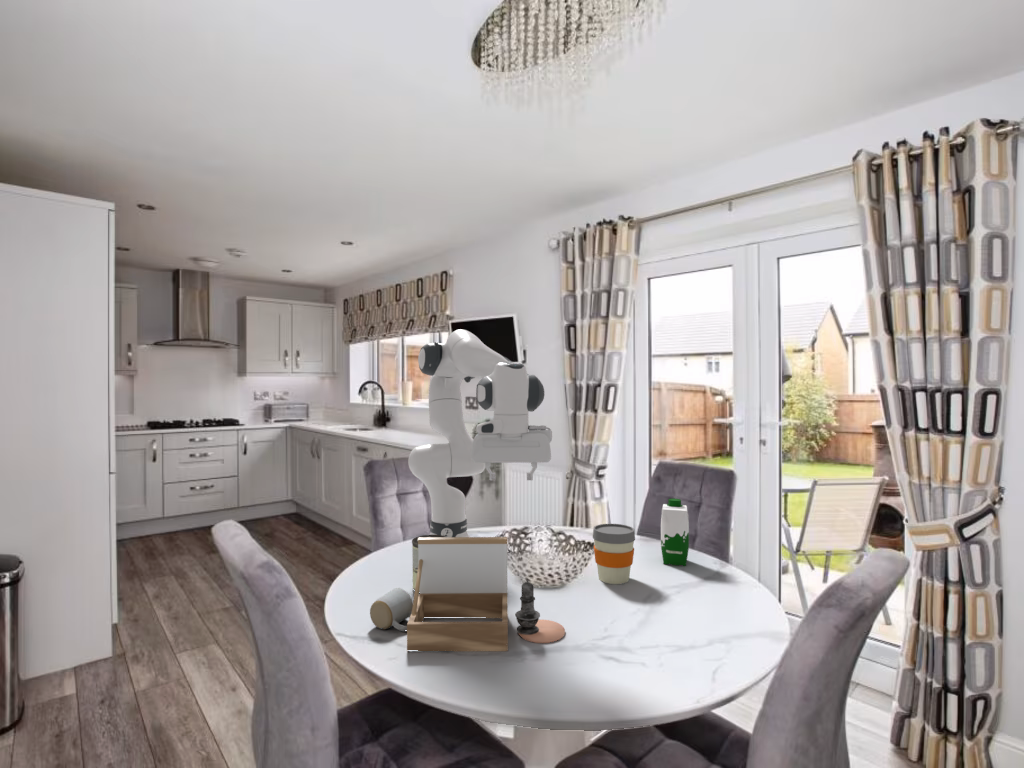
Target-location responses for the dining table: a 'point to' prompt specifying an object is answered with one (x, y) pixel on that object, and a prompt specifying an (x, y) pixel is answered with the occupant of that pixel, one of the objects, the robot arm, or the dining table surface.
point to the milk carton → (674, 532)
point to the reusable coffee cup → (613, 552)
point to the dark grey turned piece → (527, 611)
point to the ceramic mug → (391, 609)
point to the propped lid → (461, 565)
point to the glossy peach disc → (546, 632)
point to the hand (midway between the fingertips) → (511, 480)
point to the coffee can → (415, 556)
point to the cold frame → (459, 623)
